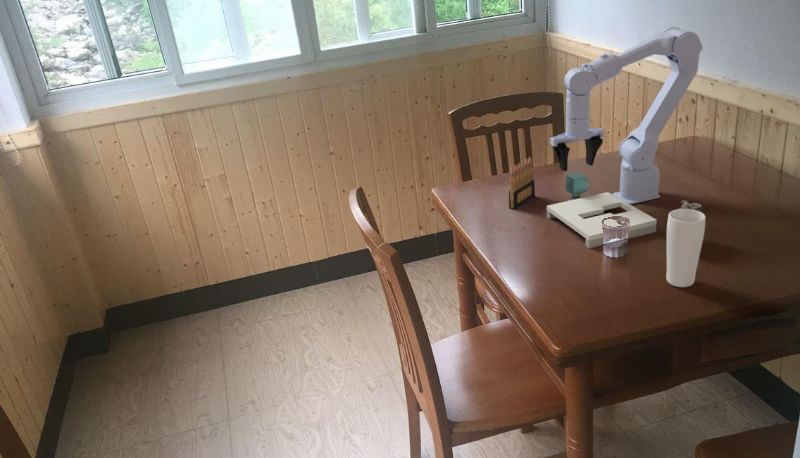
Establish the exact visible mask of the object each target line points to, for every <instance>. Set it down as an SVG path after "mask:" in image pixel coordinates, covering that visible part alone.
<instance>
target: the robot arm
mask: <svg viewBox="0 0 800 458" xmlns="http://www.w3.org/2000/svg"><path fill="white" fill-rule="evenodd" d="M701 41H702V40H701V39H700V36H699V35H698V34H697V33H696V32H694V31H687V30H684V29H681V28H679V27H676V26H675V27H674V26H671V27H668V28H666V29H664V30H662V31H658V32H656V33H654V35H652V36H650V37H648V38H646V39H645V40H643V41H641V42H639V43H637V44H635V45H633V46H631V47H630V48H628V49H625V50H624V51H622V52H621V53H617V54H613V53H605V52H604V53H603V52H602V54H600V55H599V58H597V59H595V60H594V59H593V60H592V61H590V62H588V63H582V64H581V67H573V68H571V69H569V70H568V71H567V73H565V75H564V79H563V80H562V82H563V86H564V87H565V88H566V99H565V100H566V101H565V132H563V133H561V134H557V135H556V136H551V137H550V138H549V139H550V140H549V145H550V146H551V148H552V149H553V151H554V153H555V155H556V156H557V160H558V163H559V167H560V170H562V171H563V172H568V160H569V158H568V157H569V153H570V149H571V148H570V147H569V146H567V144H570V143H575V142H578V141H584V145H585V164H586V165H588V166H594V162H595V158H596V155H597V154H598V151H599V149H600V147H601V146H602V145H603V142H604V141H603V140H604V139H603V137H605V129H604V128H602V127H598V128H595V127H594V128H590V106H591V99H590V93H591V91H592V89H594V87H596V86H598V85H600V84H602V83H605V82H606V81H608V80H611V79H613V78H615V77H616V76H619V75H620V74H621V72H622V69H623V68H625V67H627V66H630V65H632V64H634V63H637V62H639V61H642V60H644V59H646V58H649V57H652V56H653V55H659V56H665V57H666V58H667V60H668V63H669V65H670V69H671V72H670V74H669V75H668V77H667V79H666V80H665V82H664V83H663V85H662V87H661V88H660V90H659V92H658V94H657V96H656V97H655V99H654V100H653V102H652V104H651V105H650V107H649V108H648V110H647V113H646V114H645V116H644V117H643V119H642V121H641V122H640V124H639V126H637V127H636V128H635V129H633V130H631V131H630V133H629V134H628V136H627V137H626V138H624V139H623V140H622V141H621V142H620V143H619V145H618V151H617V152H618V154H619V156H620V157H621V158H622V160H621V163H620V176H619V178H620V179H619V191H617V192H616V191H615V192H613V193H612V195H614V196H616V197H617V198H619V199H621V200H623V201H624V202H626V203H628V204H630V205H633V204H639V203H642V202H646V201H651V200H655V199H660V198H661V195H659V191H660V190H659V189H660V178H661V177H660V176H661V175H660V170H659V167H658V166H657V164H655V163H654V162H655V157H656V152H657V150H658V148H659V144H660V143H659V136H660V134H661V132H662V131H663V130H664V128H665V126H666V124H667V123H668V121H669V120H670V118H671V116H672V115H673V113H674V112H675V110H676V108H677V107H678V105H679V103H680V101H681V99H682V98H683V96H684V95H685V94H686V92H687V90H688V88H689V86H690V85H691V83H692V82H693V80H694V79H695V77H696V75H697V73H698V68H699V61H700V53H701V52H702V50H703V47H704V46H703V45H702V42H701Z"/></svg>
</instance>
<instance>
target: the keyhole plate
mask: <svg viewBox="0 0 800 458" xmlns="http://www.w3.org/2000/svg"><path fill="white" fill-rule="evenodd" d="M616 208H622V209H623V210H625V212H620V213H619V212H618V213H614V214H613V213H611V212H608V213H604V211H607V210H612V209H616ZM596 215H597V216H596ZM612 216H622V217H626V218H629V219H630V228H629V239H632V238H637V237H641V236H645V235H649V234H653V233H656V232H657V223H658V222H657V221H658V220H657V219H656V218H655V217H653V216H651V215H649V214H647V213H645V212H644V211H642V210H640V209H639V208H637V207H635V206H633V205H632V204H628V203H626V202H624V201H623V200H621V199H619V198H617V197H616V196H614V195H613V193H610V192H608V191H607V192H606V191H605V192H602V193H598V194H594V195H589V196H584V197H583V198H579V199H575V200H570V201H568V200H567V201H562V202H558V203H553V204H549V205H546V218H548V220H551V219H552V220H553V219H558V220H560V221H561V222H563V223H564V224H565V225H567V226H568V227H570V228H571V229H572V230H574V231H575V232H577V233H578V234H579V235H580V236H582V237H583V238H585V242H584V243H585V247H587V248H588V249H592V248H596V247H600V246H603V245H602V244H603V229H602V226H601V222H602V220H603V219H604V218H608V217H612ZM603 223H604V224H605V225H607V226H611V227H617V226H622V225H620V224H618V223H617V222H616V220H613V219H607V220H604V222H603Z"/></svg>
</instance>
